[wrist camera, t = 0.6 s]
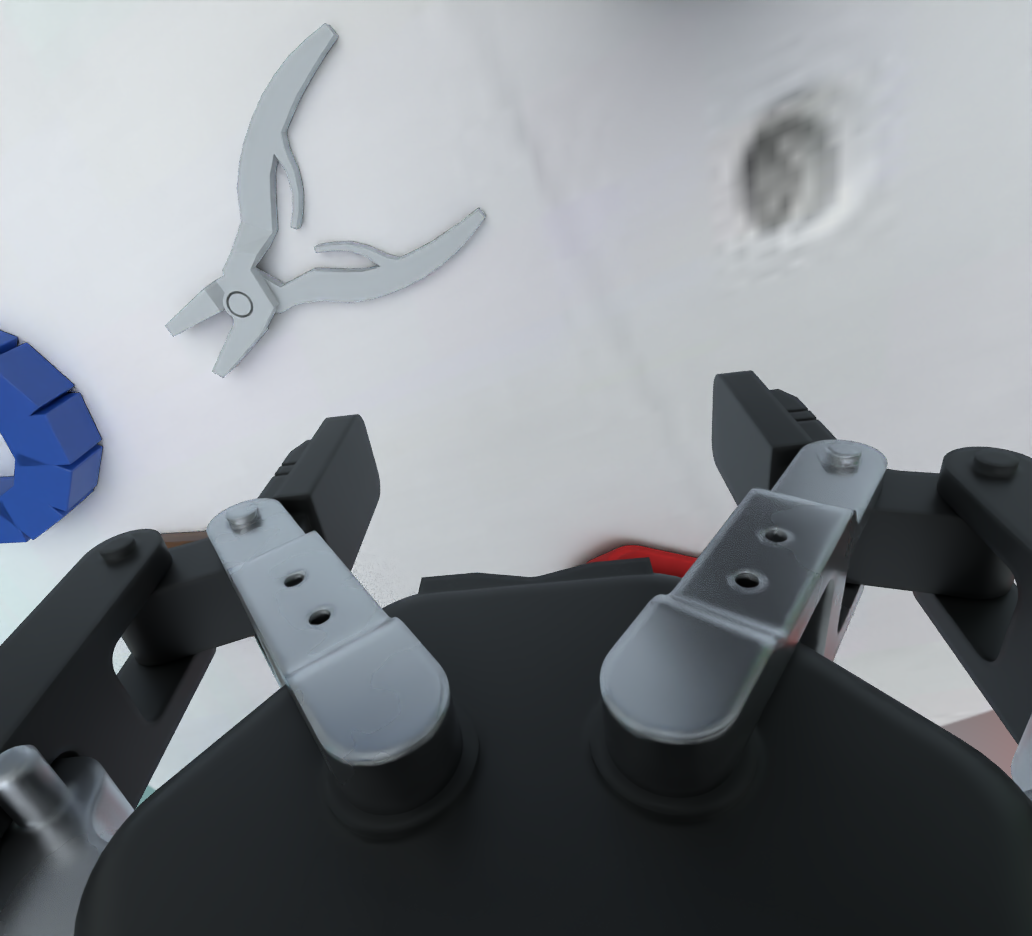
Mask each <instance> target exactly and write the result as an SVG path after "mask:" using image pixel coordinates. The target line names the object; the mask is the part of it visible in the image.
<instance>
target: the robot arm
mask: <svg viewBox="0 0 1032 936" xmlns="http://www.w3.org/2000/svg"><path fill="white" fill-rule="evenodd" d="M712 450H713V457H714V461H715V464H716V466H717V468H718V470H719V472H720V474H721V476H722V478H723V479H724V481H725V483H726V485H727V487H728V489H729V491H730V493H731V494H732V496H733V498H734V500H735V502H736V504H737V506H738V507H737V508H736V509H735V511H734V512H733V513H732V514H731V516H730V517H729V518H728V520H727V521H726V522H725V523H724V525H723V526H722V527H721V529H720V530H719V531H718V533H717V534H716V535H715V536H714V538H713V539H712V540H711V542H710V543H709V544H708V545H707V547H706V548H705V549H704V551H703V552H702V553H701V555H700V556H699V557H698V558H697V560H696V561H695V562H694V564H693V565H692V566H691V567H690V569H689V570H688V571H687V573H686V574H685V575H684V577H683V578H681V577H677V576H672V575H666V574H660V573H653V569H652V565H651V562H650V558H649V557H644V558H633V559H622V560H611V561H600V562H591V563H587V564H583V565H580V566H576V567H572V568H568V569H564V570H561V571H557V572H553V573H549V574H546V575H542V576H537V577H521V576H510V575H498V574H486V573H467V574H456V575H445V576H434V577H423V578H422V579H421V583H420V588H419V592H418V594H416V595H412V596H409V597H406V598H404V599H401V600H398V601H396V602H394V603H392V604H390V605H387V606H386V607H384V608H381V607H380V606H379V605H378V603H377V602H376V601H375V600H374V599H373V598H372V596H371V595H370V594H369V593H368V592H367V591H366V589H365V588H364V587H363V586H362V585H361V583H360V582H359V581H358V580H357V579H356V578H355V576H354V575H353V574H352V573H351V570H352V567H353V564H354V562H355V559H356V557H357V554H358V552H359V549H360V547H361V544H362V541H363V539H364V536H365V534H366V531H367V529H368V526H369V524H370V521H371V518H372V516H373V513H374V511H375V508H376V506H377V503H378V501H379V497H380V479H379V474H378V470H377V466H376V463H375V459H374V456H373V452H372V448H371V445H370V441H369V438H368V434H367V430H366V427H365V424H364V421H363V419H362V417H361V416H360V415H358V414H356V415H347V416H339V417H330V418H326V419H325V420H324V421H323V423H322V424H321V426H320V427H319V429H318V430H317V432H316V433H315V435H314V436H313V438H312V439H311V440H307V441H305V442H304V443H302V444H301V445H300V446H298V447H297V448H295V449H294V450H293V451H291V452H290V453H289V455H288V456H287V457H286V459H285V460H284V462H283V463H282V466H281V467H279V469H278V470H277V472H276V473H275V476H273V477H272V479H271V480H270V481H269V483H268V484H267V486H266V487H265V488H264V490H263V491H262V493H261V494H260V496H259V497H258V498H257V499H253V500H248V501H244V502H241V503H238V504H236V505H233V506H231V507H229V508H227V509H225V510H224V511H222V512H221V513H219V514H218V515H217V516H215V517H214V518H213V519H212V520H211V521H210V523H209V524H208V526H207V530H206V532H207V535H208V537H207V538H204V539H201V540H197V541H194V542H190V543H186V544H183V545H179V546H176V547H172V548H167V546H166V544H165V542H164V540H163V538H162V536H161V534H160V533H159V532H158V531H156V530H152V529H139V530H134V531H129V532H126V533H123V534H120V535H117V536H115V537H112V538H110V539H108V540H106V541H104V542H102V543H100V544H99V545H97V546H96V547H94V548H93V549H91V550H90V551H89V552H87V553H86V554H85V555H84V556H83V557H82V558H81V559H80V561H79V562H78V563H77V564H76V565H75V566H74V567H73V568H72V569H71V570H70V571H69V572H68V574H67V575H66V576H65V577H64V578H63V579H62V580H61V581H60V582H59V583H58V584H57V585H56V586H55V588H54V589H53V590H52V591H51V592H50V593H49V594H48V595H47V596H46V597H45V598H44V599H43V600H42V602H41V603H40V604H39V605H38V606H37V607H36V608H35V609H34V610H33V611H32V612H31V613H30V614H29V616H28V617H27V618H26V619H25V620H24V621H23V622H22V623H21V624H20V625H19V626H18V627H17V629H16V630H15V631H14V632H13V633H12V634H11V635H10V636H9V637H8V638H7V639H6V640H5V641H4V643H3V644H2V645H1V646H0V936H1032V458H1030V457H1028V456H1025V455H1023V454H1020V453H1017V452H1013V451H1009V450H1005V449H999V448H992V447H965V448H960V449H956V450H953V451H951V452H949V453H947V454H946V455H945V456H944V459H943V462H942V466H941V470H940V473H925V472H909V471H898V470H891V469H886V468H887V459H886V457H885V456H884V455H883V454H882V453H881V452H880V451H878V450H877V449H875V448H873V447H871V446H868V445H866V444H862V443H859V442H854V441H848V440H837V439H836V438H835V437H834V436H833V435H832V434H831V433H830V431H829V430H828V429H827V428H826V427H825V426H824V425H823V424H822V423H821V422H820V421H819V420H816V417H815V416H814V415H813V414H812V412H811V411H808V408H807V407H806V406H805V405H804V404H803V403H802V402H801V401H800V400H799V399H798V398H797V397H795V396H793V395H791V394H788V393H786V392H784V391H782V390H779V389H774V390H769V389H768V388H767V387H766V386H765V385H764V384H763V382H762V381H761V380H760V379H759V378H758V377H757V376H756V374H755V373H754V372H753V371H742V372H733V373H724V374H717V375H716V376H715V379H714V384H713V412H712ZM1014 579H1015V580H1016V583H1017V586H1016V585H1015V584H1014ZM864 585H868V586H876V587H884V588H892V589H900V590H908V591H913V595H914V596H915V598H916V600H917V601H918V603H919V604H920V605H921V607H922V608H923V610H924V611H925V613H926V614H927V615H928V617H929V618H930V620H931V621H932V623H933V624H934V625H935V627H936V628H937V630H938V631H939V633H940V634H941V635H942V637H943V638H944V640H945V641H946V643H947V644H948V645H949V647H950V648H951V650H952V651H953V653H954V654H955V655H956V657H957V658H958V660H959V661H960V663H961V664H962V665H963V667H964V668H965V670H966V671H967V673H968V674H969V675H970V677H971V678H972V680H973V681H974V683H975V684H976V685H977V687H978V688H979V690H980V691H981V693H982V694H983V695H984V697H985V698H986V700H987V701H988V703H989V704H990V705H991V707H992V708H993V710H994V711H995V712H996V714H997V715H998V717H999V718H1000V720H1001V721H1002V722H1003V724H1004V725H1005V727H1006V728H1007V730H1008V731H1009V732H1010V734H1011V735H1012V737H1013V738H1014V739H1015V741H1016V742H1017V744H1018V748H1017V750H1016V752H1015V755H1014V757H1013V760H1012V764H1011V775H1012V779H1013V780H1012V779H1011V778H1010V777H1009V776H1008V775H1007V774H1006V773H1005V772H1004V771H1003V770H1001V768H999V767H998V766H997V765H996V764H995V763H993V762H992V761H991V760H990V759H988V758H987V757H986V756H984V755H983V754H982V753H981V752H979V751H978V750H976V749H975V748H973V747H972V746H970V745H969V744H967V743H966V742H964V741H963V740H961V739H960V738H958V737H956V736H955V735H953V734H951V733H950V732H948V731H946V730H945V729H943V728H941V727H940V726H938V725H937V724H935V723H933V722H932V721H930V720H928V719H927V718H925V717H923V716H922V715H920V714H918V713H917V712H915V711H913V710H912V709H910V708H908V707H907V706H905V705H903V704H902V703H900V702H899V701H897V700H895V699H894V698H892V697H890V696H889V695H887V694H885V693H884V692H882V691H880V690H879V689H877V688H875V687H874V686H872V685H870V684H869V683H867V682H865V681H864V680H862V679H861V678H859V677H857V676H856V675H854V674H852V673H851V672H849V671H847V670H846V669H844V668H842V667H841V666H839V665H837V664H836V663H834V662H833V661H834V658H835V655H836V652H837V650H838V648H839V645H840V643H841V641H842V639H843V636H844V634H845V632H846V629H847V627H848V625H849V622H850V620H851V618H852V615H853V613H854V611H855V609H856V606H857V604H858V602H859V599H860V597H861V595H862V592H863V588H864ZM250 636H254V637H255V639H256V641H257V643H258V645H259V647H260V649H261V651H262V653H263V655H264V657H265V659H266V661H267V663H268V665H269V667H270V669H271V671H272V673H273V674H274V676H275V678H276V680H277V682H278V684H279V686H280V689H279V690H278V691H277V692H275V693H274V694H273V695H272V696H271V697H269V698H268V699H267V700H266V701H265V702H263V703H262V704H261V705H260V706H258V707H257V708H256V709H255V710H254V711H252V712H251V713H250V714H249V715H247V716H246V717H245V718H244V719H243V720H241V721H240V722H239V723H238V724H237V725H235V726H234V727H233V728H232V729H230V730H229V731H228V732H227V733H226V734H224V735H223V736H222V737H221V738H219V739H218V740H217V741H216V742H215V743H213V744H212V745H211V746H210V747H208V748H207V749H206V750H205V751H204V752H202V753H201V754H200V755H199V756H198V757H196V758H195V759H194V760H193V761H191V762H190V763H189V764H188V765H187V766H185V767H184V768H183V769H182V770H180V771H179V772H178V773H177V774H176V775H174V776H173V777H172V778H171V779H170V780H168V781H167V782H166V783H165V784H163V785H162V786H161V787H160V788H159V789H157V790H156V791H155V792H154V793H153V794H152V795H150V796H149V797H148V798H147V799H146V800H145V801H144V802H142V803H141V804H140V805H139V806H138V807H137V805H138V803H139V801H140V799H141V797H142V795H143V793H144V791H145V789H146V787H147V785H148V783H149V782H150V780H151V778H152V776H153V774H154V772H155V770H156V768H157V766H158V764H159V762H160V760H161V758H162V756H163V754H164V752H165V750H166V748H167V746H168V744H169V742H170V740H171V738H172V736H173V735H174V733H175V731H176V729H177V727H178V725H179V723H180V721H181V719H182V717H183V715H184V713H185V711H186V709H187V707H188V705H189V703H190V701H191V699H192V697H193V695H194V693H195V691H196V689H197V688H198V686H199V684H200V682H201V680H202V678H203V676H204V674H205V672H206V670H207V668H208V666H209V664H210V662H211V660H212V658H213V656H214V654H215V651H216V647H219V646H222V645H225V644H228V643H231V642H235V641H238V640H241V639H244V638H247V637H250ZM120 637H122V638H123V640H124V642H125V643H126V645H127V647H128V648H129V650H130V652H131V655H130V656H129V658H128V659H127V661H126V662H125V664H124V665H123V667H122V668H121V670H120V671H119V673H118V674H117V675H116V674H115V672H114V669H113V663H112V657H113V651H114V648H115V645H116V643H117V642H118V640H119V639H120ZM136 807H137V808H136Z"/></svg>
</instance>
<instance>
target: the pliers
mask: <svg viewBox="0 0 1032 936" xmlns="http://www.w3.org/2000/svg"><path fill="white" fill-rule="evenodd" d="M338 37H339V36H338V35H337V33H336V32H335V31H334V30H333V28H332V27H331V26H330V25H328V24H326V23H325V24H323V25H322V26H321V27H320V28H319V29H317V30H316V31H315V32H314V33H312V34H311V35H310V36H309V37H308V38H306V39H305V40H304V41H303V42H302V43H301V44H300V45H299V46H298V47H297V48H296V49H295V50H294V51H293V52H292V53H291V54H290V55H289V56H288V57H287V59H286V60H285V61H284V62H283V64H282V65H281V66H280V68H279V69H278V70H277V72H276V73H275V74H274V76H273V77H272V79H271V81H270V82H269V84H268V86H267V87H266V89H265V91H264V92H263V94H262V96H261V98H260V100H259V102H258V105H257V107H256V109H255V112H254V114H253V116H252V119H251V122H250V124H249V127H248V130H247V133H246V136H245V139H244V143H243V148H242V152H241V157H240V161H239V170H238V183H237V193H238V200H239V208H240V216H241V224H240V227H239V230H238V233H237V236H236V238H235V241H234V244H233V247H232V250H231V253H230V255H229V257H228V259H227V261H226V264H225V266H224V268H223V274H224V276H222V277H220V278H219V279H217V280H215V281H214V282H212V283H211V284H209V285H208V286H207V287H205V288H204V289H203V290H202V291H201V292H200V293H199V294H197V295H196V296H195V297H194V298H193V299H192V300H191V301H190V302H189V303H188V304H187V305H186V306H185V307H184V308H183V309H182V310H181V311H180V312H179V313H178V314H177V315H175V316H174V317H173V318H172V319H171V320H170V321H169V322H168V323H167V324H166V325H165V327H166V328H167V329H168V331H169V332H170V333H171V335H172V336H173V337H174V336H176V335H178V334H179V333H181V332H183V331H185V330H187V329H189V328H191V327H193V326H195V325H196V324H198V323H200V322H202V321H204V320H206V319H208V318H210V317H211V316H213V315H215V314H217V313H219V312H221V311H224V310H226V311H227V313H228V314H229V315H230V316H232V317H233V318H234V319H233V327H232V329H231V331H230V333H229V335H228V337H227V340H226V342H225V344H224V346H223V348H222V350H221V353H220V355H219V357H218V359H217V361H216V363H215V365H214V368H213V370H212V372H213V373H215V374H217V375H219V376H221V377H222V378H224V377H225V376H226V375H227V374H228V373H229V372H231V371H232V370H233V369H234V368H235V367H236V366H237V365H238V364H239V363H240V361H241V360H242V359H243V358H244V357H245V356H246V354H247V353H248V352H249V351H250V350H251V349H252V348H253V346H254V345H255V344H256V343H257V342H258V341H259V339H260V338H261V337H262V336H263V335H264V334H265V332H266V331H267V330H268V329H269V328H267V327H268V325H269V323H270V321H271V319H272V317H273V315H274V313H280V314H281V313H282V312H284V311H286V310H288V309H290V308H292V307H293V306H295V305H297V304H303V303H310V302H316V301H330V302H343V303H352V302H359V301H366V300H371V299H375V298H378V297H381V296H385V295H388V294H391V293H393V292H396V291H398V290H400V289H403V288H405V287H407V286H409V285H411V284H413V283H415V282H417V281H419V280H421V279H422V278H424V277H426V276H427V275H429V274H430V273H432V272H433V271H434V270H436V269H437V268H439V267H440V266H441V265H443V264H444V263H445V262H446V261H447V260H448V259H450V258H451V257H452V256H453V255H454V254H455V253H457V252H458V251H459V249H460V248H461V247H462V246H463V245H464V244H465V243H466V241H467V240H468V239H469V238H470V237H471V236H472V235H473V233H474V232H475V231H476V229H477V228H478V227H479V225H480V224H481V223H482V222H483V220H484V219H485V217H486V215H485V214H484V213H483V212H482V210H481V209H480V208H478V209H476V210H475V211H474V212H473V213H471V214H470V215H469V216H467V217H466V218H465V219H464V220H462V221H461V222H459V223H458V224H456V225H455V226H454V227H452V228H451V229H449V230H448V231H446V232H445V233H443V234H442V235H440V236H439V237H437V238H436V239H434V240H433V241H431V242H430V243H428V244H426V245H424V246H422V247H420V248H418V249H416V250H414V251H412V252H410V253H408V254H406V255H404V256H402V257H398V256H393V255H388V254H386V253H384V252H382V251H380V250H378V249H376V248H374V247H372V246H369V245H365V244H360V243H356V242H352V241H347V242H330V243H324V244H318V245H317V246H315V247H314V250H315V252H316V253H320V252H327V251H349V252H353V253H356V254H359V255H363V256H365V257H367V258H368V259H369V260H371V261H372V262H374V263H375V264H377V265H378V266H374V267H370V268H363V269H336V268H314V269H312V270H310V271H309V272H307V273H305V274H303V275H301V276H299V277H297V278H295V279H293V280H292V281H290V282H288V283H286V284H284V283H283V282H281V281H279V280H277V279H276V278H274V277H272V276H271V275H269V274H267V273H265V272H264V271H262V270H260V269H259V268H257V267H256V266H257V264H258V263H259V261H260V260H261V259H262V257H263V256H264V254H265V253H266V252H267V250H268V249H269V248H270V246H271V244H272V242H273V239H274V237H275V235H276V233H277V231H278V221H277V205H276V168H277V163H278V160H279V162H280V163H281V165H282V167H283V168H284V170H285V171H286V173H287V177H288V180H289V184H290V187H291V191H292V219H291V228H294V229H298V228H300V227H301V224H302V216H303V207H304V190H303V185H302V180H301V176H300V171H299V168H298V166H297V163H296V161H295V159H294V156H293V154H292V151H291V149H290V147H289V142H288V137H287V129H288V127H289V124H290V122H291V119H292V117H293V115H294V112H295V110H296V108H297V105H298V103H299V101H300V99H301V97H302V94H303V93H304V91H305V89H306V88H307V86H308V84H309V82H310V81H311V79H312V77H313V76H314V74H315V72H316V71H317V69H318V67H319V66H320V64H321V62H322V61H323V59H324V57H325V56H326V54H327V53H328V51H329V50H330V48H331V47H332V45H333V44H334V43H335V41H336V40H337V38H338Z"/></svg>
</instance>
